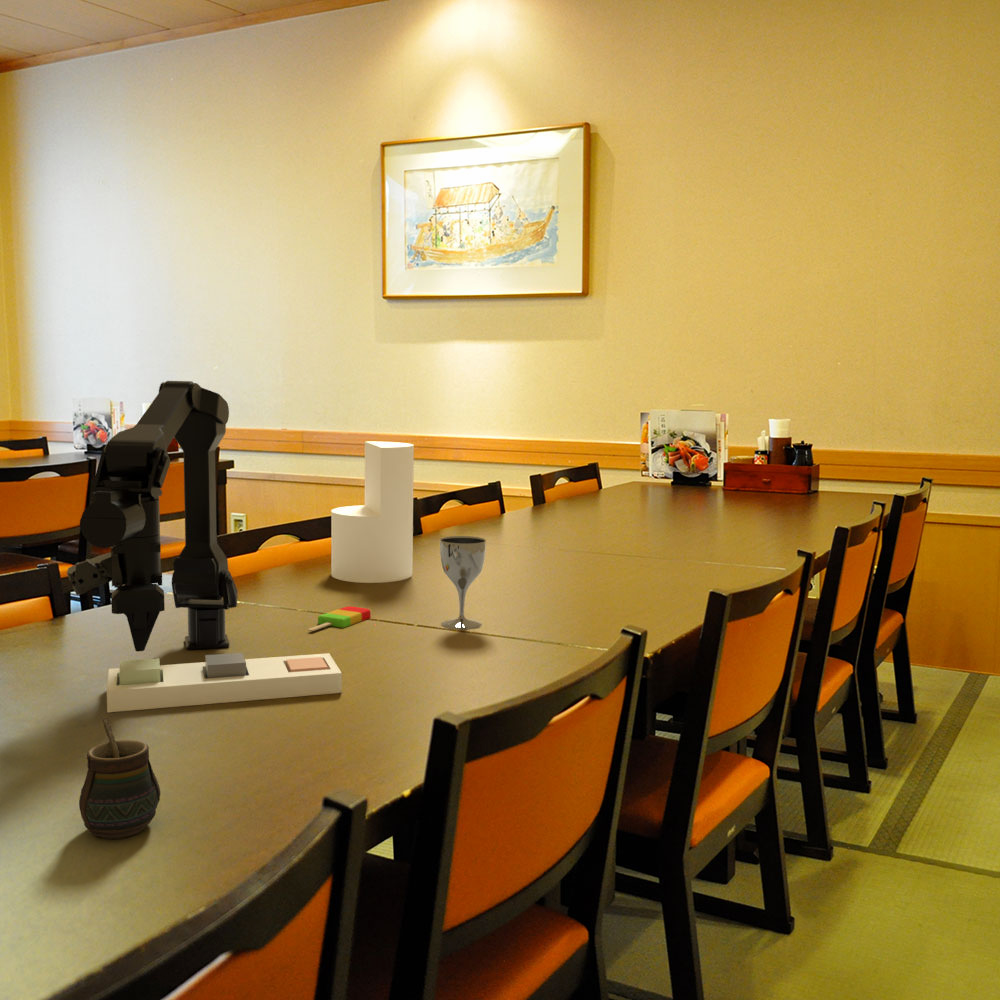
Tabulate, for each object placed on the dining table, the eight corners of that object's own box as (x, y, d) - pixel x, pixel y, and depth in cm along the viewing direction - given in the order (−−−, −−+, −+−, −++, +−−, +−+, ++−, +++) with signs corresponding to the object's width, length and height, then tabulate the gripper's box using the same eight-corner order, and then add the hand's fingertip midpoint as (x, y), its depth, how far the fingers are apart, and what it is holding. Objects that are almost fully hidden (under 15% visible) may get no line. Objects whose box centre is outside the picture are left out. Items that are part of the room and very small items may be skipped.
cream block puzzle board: (109, 688, 140) (109, 668, 140) (329, 671, 150) (329, 653, 149) (107, 712, 131) (106, 691, 130) (341, 692, 140) (341, 672, 140)
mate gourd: (103, 854, 93) (98, 748, 92) (64, 829, 98) (59, 728, 97) (174, 828, 99) (171, 728, 97) (134, 806, 104) (130, 710, 102)
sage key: (120, 679, 138) (120, 661, 137) (159, 676, 139) (159, 658, 139) (119, 690, 133) (119, 671, 133) (160, 687, 135) (160, 668, 134)
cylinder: (402, 565, 231) (403, 441, 228) (420, 580, 215) (422, 447, 211) (325, 568, 226) (325, 441, 222) (338, 584, 209) (338, 447, 206)
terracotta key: (286, 676, 145) (286, 659, 145) (321, 674, 147) (321, 657, 147) (291, 687, 141) (291, 669, 140) (327, 684, 142) (327, 666, 142)
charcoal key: (205, 672, 141) (205, 655, 141) (242, 670, 143) (242, 652, 143) (207, 683, 137) (207, 665, 136) (246, 680, 138) (246, 662, 138)
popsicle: (373, 619, 184) (373, 608, 183) (323, 637, 170) (323, 626, 170) (347, 615, 186) (347, 605, 186) (296, 633, 173) (296, 622, 172)
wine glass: (462, 616, 185) (464, 534, 183) (493, 625, 179) (495, 540, 177) (429, 623, 179) (430, 538, 177) (459, 632, 174) (461, 545, 172)
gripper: (74, 525, 140) (78, 636, 142) (65, 549, 122) (69, 675, 124) (160, 522, 144) (162, 631, 146) (163, 545, 126) (165, 668, 128)
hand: (139, 650), depth 136 cm, fingers closed
